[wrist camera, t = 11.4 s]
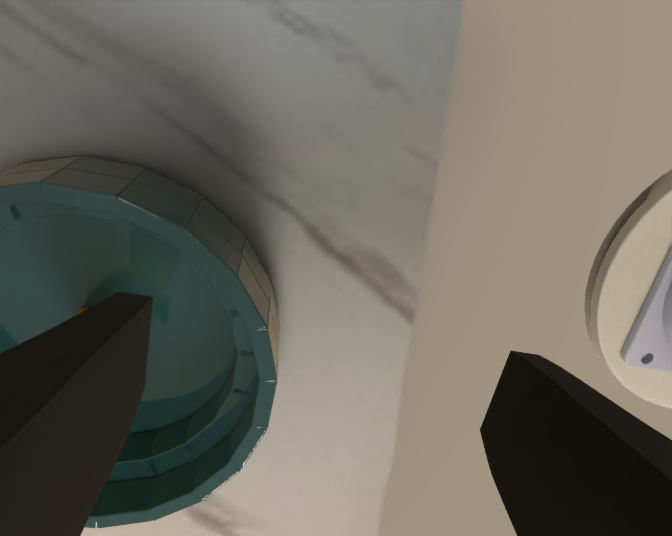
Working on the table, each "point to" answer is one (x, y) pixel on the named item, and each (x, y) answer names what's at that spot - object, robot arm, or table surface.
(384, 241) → the table surface
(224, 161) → the table surface
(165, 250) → the glazed bowl
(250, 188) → the table surface
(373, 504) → the table surface
